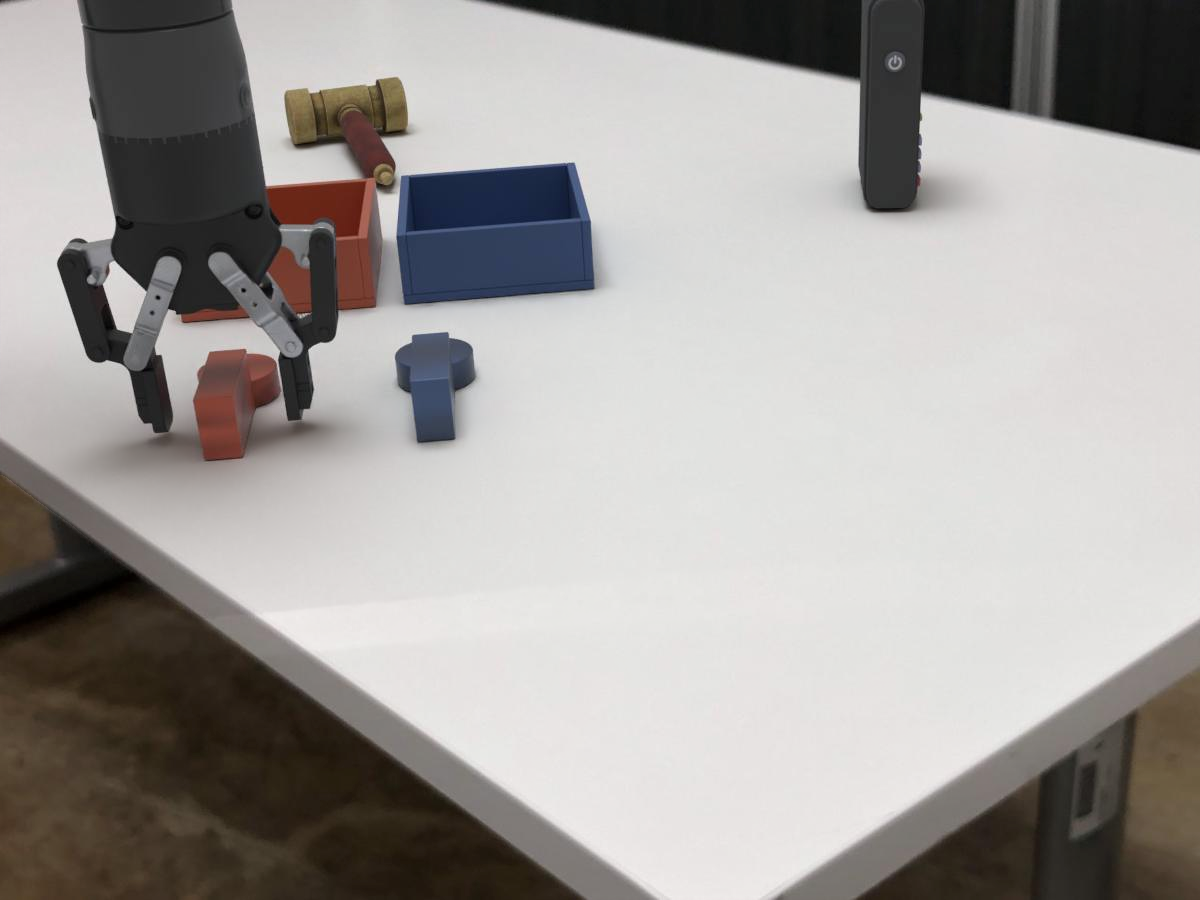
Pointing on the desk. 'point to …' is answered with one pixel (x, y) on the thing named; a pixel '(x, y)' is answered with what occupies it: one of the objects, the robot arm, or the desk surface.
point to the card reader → (890, 101)
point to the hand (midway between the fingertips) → (229, 420)
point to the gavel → (352, 120)
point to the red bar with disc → (231, 399)
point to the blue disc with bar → (434, 380)
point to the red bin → (355, 243)
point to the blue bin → (493, 233)
